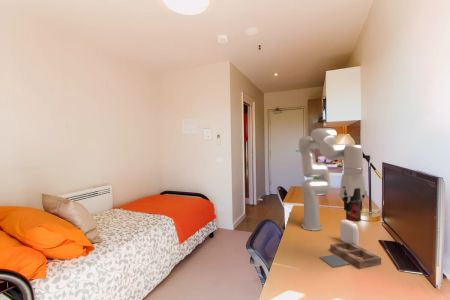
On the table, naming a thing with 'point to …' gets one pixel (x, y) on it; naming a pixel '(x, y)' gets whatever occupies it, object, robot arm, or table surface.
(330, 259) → the mat
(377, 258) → the well board
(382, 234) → the table surface
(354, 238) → the photo printer
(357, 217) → the deodorant
